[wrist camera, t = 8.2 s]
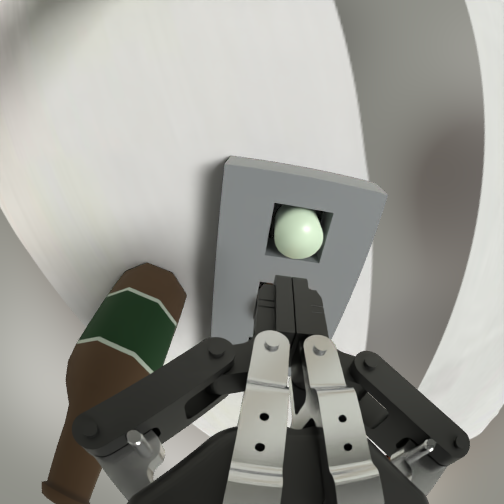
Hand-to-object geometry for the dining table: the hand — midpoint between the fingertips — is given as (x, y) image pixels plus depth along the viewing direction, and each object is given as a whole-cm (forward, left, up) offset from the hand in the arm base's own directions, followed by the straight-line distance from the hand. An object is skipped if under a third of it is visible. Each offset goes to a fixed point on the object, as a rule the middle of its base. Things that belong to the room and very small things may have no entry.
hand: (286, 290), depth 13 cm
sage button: (+1, +1, -11) cm, 11 cm away
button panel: (+8, +1, -11) cm, 14 cm away
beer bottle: (+11, -11, -11) cm, 20 cm away
